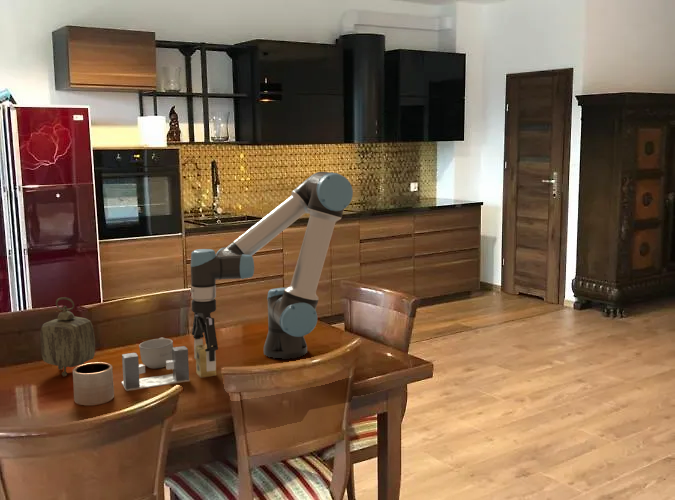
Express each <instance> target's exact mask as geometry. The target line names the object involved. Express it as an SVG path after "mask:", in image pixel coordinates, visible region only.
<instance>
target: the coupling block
mask: <svg viewBox="0 0 675 500" xmlns="http://www.w3.org/2000/svg"><path fill="white" fill-rule="evenodd" d="M211 347H212V346H211ZM206 349H207V346H206V343H205V344H203V345H198V346H196V359H195V367H196V368H195V369H196V372H195V373H196V374H197V376H198V377H199V378H200V379H201V378H208V377H213V376H217V369H216V370H215V371H208V372H207V365H206V351H205V350H206Z"/></svg>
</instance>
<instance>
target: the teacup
mask: <svg viewBox="0 0 675 500" xmlns="http://www.w3.org/2000/svg"><path fill="white" fill-rule="evenodd" d="M138 347H139V352H140V354H139V355H140V360H141V362H142V363H141V364H143V365H145V367H147V368H149V369H162V368H164V367H165V368H166V360H172V348H173V347H174V341H173V340H172V339H170V338H165V337H159V338H153V339H148V340H145V341H143V342H141V343H140V344H138Z"/></svg>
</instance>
